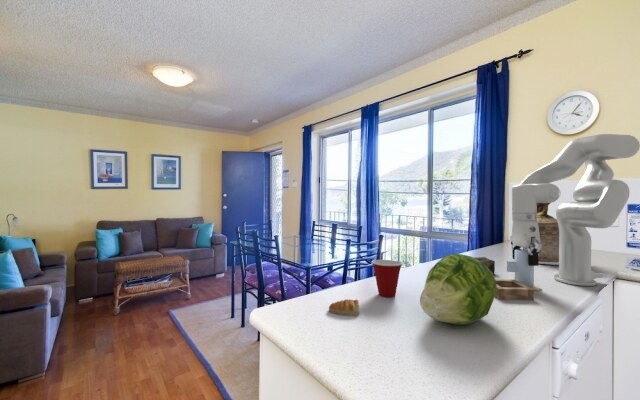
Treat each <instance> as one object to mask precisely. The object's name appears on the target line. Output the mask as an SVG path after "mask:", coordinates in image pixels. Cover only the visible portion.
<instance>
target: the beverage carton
mask: <svg viewBox="0 0 640 400" xmlns="http://www.w3.org/2000/svg"><path fill="white" fill-rule="evenodd" d="M473 257H474V258H476V259H478V260H479V261H481V262H483V263H484V264H485V265H486V266H487V267H488V268H489V270H490V271H491V272H492V274H493V275H495V271H496V269H495V266H496V265H495V264H496V263H495V262H496V261H495V260H493V259H490V258H487V256H481V257H475V256H473Z"/></svg>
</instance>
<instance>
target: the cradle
mask: <svg viewBox="0 0 640 400" xmlns="http://www.w3.org/2000/svg"><path fill="white" fill-rule="evenodd" d="M495 280H496V286H497V292H496V294H495V297H494V298H496V299H498V300H512V301H513V300H514V301H515V300H518V301H528V300H529V301H534V300H535V290H534V289H532V288H530V287H528V286H526V285H524V284H522V283H520V282H518V281H516V280H514V279H501V278H499V279H497V278H495Z"/></svg>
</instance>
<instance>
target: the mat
mask: <svg viewBox="0 0 640 400" xmlns="http://www.w3.org/2000/svg"><path fill="white" fill-rule="evenodd" d="M531 288H532V289H534V291H543V288H542V287H539V286H537V285H535V284H534V287H531Z"/></svg>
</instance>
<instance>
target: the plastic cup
mask: <svg viewBox="0 0 640 400" xmlns="http://www.w3.org/2000/svg"><path fill="white" fill-rule="evenodd" d="M371 264H372V266H373V271H374V276H375V281H376V286H377V287H376V288H377V291H378V295H379V296H380V297H382V298H394V297H395V296H396V294H397V287H398V285H399V279H400V278H399V277H400V272H401V268H402V266H403V262H402V261H399V260H393V259H374V260H371Z"/></svg>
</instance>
